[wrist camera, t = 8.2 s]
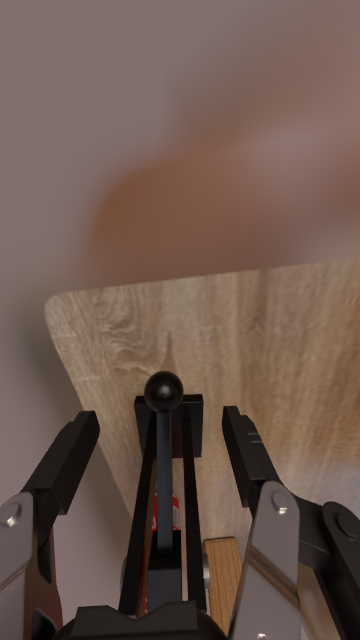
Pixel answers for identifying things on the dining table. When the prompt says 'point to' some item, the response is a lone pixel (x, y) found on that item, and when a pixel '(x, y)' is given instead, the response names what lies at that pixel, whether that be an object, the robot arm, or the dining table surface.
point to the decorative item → (223, 578)
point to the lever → (164, 496)
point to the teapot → (314, 607)
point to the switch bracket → (136, 562)
